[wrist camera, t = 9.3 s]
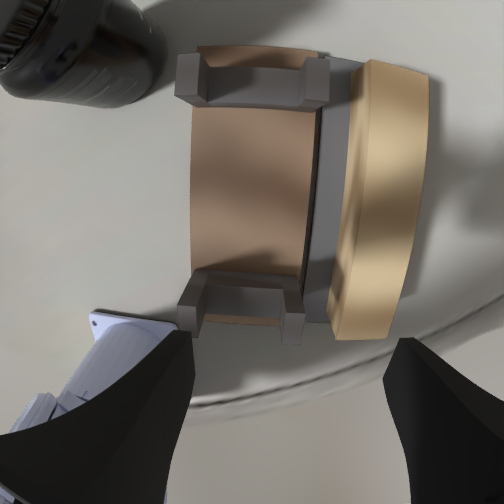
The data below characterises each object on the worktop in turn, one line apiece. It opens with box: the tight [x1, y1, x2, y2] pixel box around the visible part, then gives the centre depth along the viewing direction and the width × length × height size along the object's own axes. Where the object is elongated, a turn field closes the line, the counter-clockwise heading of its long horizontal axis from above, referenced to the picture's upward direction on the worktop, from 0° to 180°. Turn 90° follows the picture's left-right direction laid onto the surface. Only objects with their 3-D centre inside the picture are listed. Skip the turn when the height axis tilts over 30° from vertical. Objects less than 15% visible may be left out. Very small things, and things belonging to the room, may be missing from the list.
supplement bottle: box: [0, 0, 166, 108], centre depth 9 cm, size 7×7×12 cm
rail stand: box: [174, 46, 330, 344], centre depth 15 cm, size 18×7×6 cm, turn 177°
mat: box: [302, 56, 365, 323], centre depth 17 cm, size 18×7×1 cm, turn 177°
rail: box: [326, 59, 429, 340], centre depth 15 cm, size 16×4×4 cm, turn 177°
